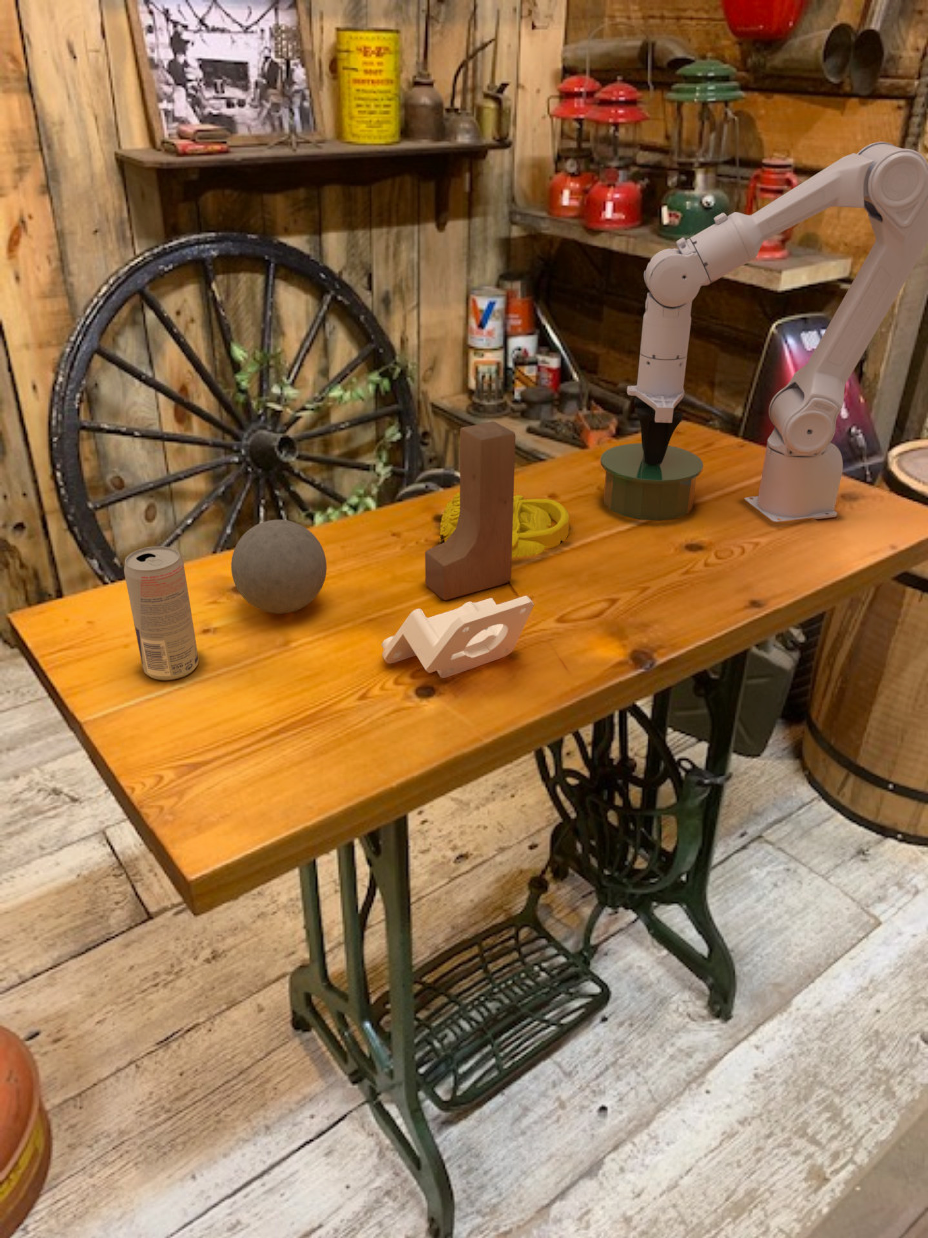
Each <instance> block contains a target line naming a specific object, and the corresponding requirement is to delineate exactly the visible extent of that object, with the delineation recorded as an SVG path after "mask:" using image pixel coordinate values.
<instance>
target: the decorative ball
mask: <svg viewBox="0 0 928 1238" xmlns="http://www.w3.org/2000/svg"><path fill="white" fill-rule="evenodd" d="M230 567H231V569H230V570H231V577H232V581H233V584H234V585H235V587H236V590H237V591H238V593H239V594H240V596H241V597H242V598H243V599H244V600H245V601H246V602H247V603H248V604H250V605H251V606H253V607H254V608H256V609H257V610H260V611H262V612H265V613H268V614H278V615H281V614H283V615H284V614H289V613H293V612H297V611H299V610H301V609H303V608H305V607H307V606H308V605H309V604H310V603H312V602H313V600H314V599H315V598H316V597H317V596H318V595H319V593H320V592H321V590H322V588H323V586H324V584H325V581H326V578H327V558H326V554H325V551H324V548H323V546H322V544H321V543H320V541H319V539H318V538H317V537H316V536H315V535H314V533H313V532H311V531H310V530H309V529H307V528H306V527H305V526H304V525H301V524H299V523H297V522H294V521H291V520H286V519H271V520H270V519H269V520H265V521H263V522H259V523H258V524H255V525H254V526H253V527H251V528H249V529H248V530H247V531H245V533H244V534H242V536H241V537H240V538H239V540H238V541H237V543H236V545H235V547H234V550H233V552H232V556H231V562H230Z"/></svg>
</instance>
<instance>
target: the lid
mask: <svg viewBox="0 0 928 1238" xmlns="http://www.w3.org/2000/svg"><path fill="white" fill-rule="evenodd" d="M599 463H600V466H601V467H602V468H603V470H605V472H606V471H607V472H609V473H611V474H613V475H615V476H617V477H620V478H623V479H626V480H630V481H635V482H641V483H651V484H669V483H678V482H684V481H688V480H691V479H693V478H695V477H696V478H698V477H699V476H700V475H701V474H702V472H703V470H704V462H703V460H702V459H701V458H700V457H699V456H698V455H696V454H695V453H693V452H691V451H689V450H686V449H683V448H681V447H677V446H672V445H669V444H668V447H667V450H666V453H665V456H664V459H663V461H662V463H661V464H650V463H646V462H645V458H644V449H643V448H642V442H637V443H636V442H635V443H626V444H621V445H616V446H613V447H610V448H609V449H607V450H605V451H604V452H602V454H601V456H600V462H599Z"/></svg>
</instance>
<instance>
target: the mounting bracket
mask: <svg viewBox="0 0 928 1238" xmlns="http://www.w3.org/2000/svg"><path fill="white" fill-rule="evenodd" d="M534 606H535V603H534V601H532V599H531V597H529V596H528V595H523V596H520V597H517V598H514V599H511V600H508V601H504V602H500V603H498V604H497V602H495V600H494V598H493V597H489V598H486V599H483V600H480V601H475V602H472V601H467V602H465V603H464V604H463V605H461V606H460V607H457V608H454V609H451V610H448V611H444V612H442V613H439V614H435V615H433V616H429V617H427V616H426V615H425V613H424V611H423V610H422V609H421V608H416V609H414V610H412V611H411V612H410V613H409V615H408V616H407V617H406V619H405V620H404V622H403V623H402V625H401V626H400V627H399V628H398V630H397V631H396V633H395V634H394V635H391V636H389V637H387V638H385V639H384V640H383V641H382V643H381V647H382V649H383V651H382V653H381V657H382V658H383V660H384V661H385V663H386V664H396V663H398V662H401V661H403V660H406V659H411V658H413V657H417V659H418V660H419V662H420V664H421V666H422V667H423V668H424V670H425V671H426V672H427V673H428V674H430V673H433V672H437V674H438V675H439V677H440V678H441V679H446V678H450V677H451V676H454V675H458V674H461V673H463V672H466V671H468V670H471V669H474V668H477V667H480V666H482V665H486V664H488V663H491V662H494V661H497V660H499V659H503V658H505V657H508V655H510V654H511V653H512V652H513V651H514V650H515V648H516V646H517V643H518V641H519V639H520V637H521V634H522V632H523V630H524V628H525V626H526V623H527V621H528V619H529V617H530V615H531V613H532V610H533V608H534Z"/></svg>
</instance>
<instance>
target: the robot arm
mask: <svg viewBox="0 0 928 1238" xmlns="http://www.w3.org/2000/svg"><path fill="white" fill-rule="evenodd" d="M834 207H836V208H838V207H839V208H854V209H855V208H856V209H864V210H865V211H866V213H867V216H868V220H869V222H870V225H871V228H872V232H873V235H874V236H875V241H874V243H873V245H872V247H871V248H870V249H869V252H868V255H866V257H865V259H864V261H863V263H862V265H861V266H860V268H859V270H858V272H857V274H856V275H855V277H854V279H853V281H852V283H851V284H850V286H849V288H848V290H847V292H846V293H845V295H844V297H843V298H842V301H840V303H839V306H838V307H837V309H836V311H835V312H834V315H833V316H832V318H831V320H830V322H829V324H828V326H827V328H826V329H825V331H824V333H823V334H822V337H820V340H819V342H818V344H817V345H816V347H815V349H814V351H813V352H812V355H811V356H810V357H809V360H808V362H807V363H806V364H805V365H804V366H803V367H800V368H799V369H798V370H797V371H795V372H794V374H793V375H792V377H791V379H790V380H789V382H788V383H787V385H785V386H784V387H783V388H781V389H780V390H779V391H778V392H777V393H775V394H774V396H773V397H772V399H771V401H770V403H769V405H768V418H769V420H770V422H771V424H772V425H773V426H774V428H773V430H772V432H771V433H770V435H769V437H767V442H766V447H765V453H764V458H763V459H764V460H763V466H762V471H761V477H760V482H759V488H758V495H755V496H746V497H744V498H743V500H745V502H747V503H749V504H750V505H751V506H752V507H754V508H755V509H756V510H757V511H759V512H760V513H762V514H763V515H764V516H765V517H766V518H768V519H769V520H771V521H772V522H775V523H778V522H779V523H780V522H787V521H796V520H803V519H811V518H813V519H814V520H823V519H829V518H837V516H838V512H837V511H835V509H836V504H837V503H836V502H837V499H838V495H839V491H840V485H841V481H842V475H843V469H844V464H843V457H842V453H841V450H840V449H839V448H838V446H836V444H834V443H832V440H833V439H834V436H835V434H836V426H837V425H836V424H837V419H838V416H839V414H840V412H841V410H842V409H843V406H844V402H845V401H844V399H845V389H846V384H847V382H848V381H849V379H850V378H851V375H852V374H853V372H854V370H855V368H856V367H857V365H858V363H859V362H860V360H861V359H862V357H863V354H864V353H865V351H866V350H867V348H868V346H869V345H870V343H871V341H872V339H873V338H874V336H875V334H876V332H877V331H878V329H879V328H880V326H881V324H882V322H883V320H884V319H885V317H886V316H887V314H888V312H889V311H890V309H891V307H892V305H893V304H894V302H895V300H896V299H897V296H898V295H899V293H900V292H901V291H902V288H903V286H904V285H905V283H906V282H907V279H909V276H910V274H911V272H912V271H913V270H914V268H915V266H916V264H917V263H918V261H919V259H920V257H921V255H922V254H923V253H924V250H925V249H926V247H927V245H928V161H927V159H926V158H925V156H923V155H922V154H921V153H920V152H918V151H917V150H914V149H912V148H911V149H910V148H901V147H900V146H899V147H898V146H896V145H894V144H893V143H891V142H886V141H877V142H873V143H870V144H868V145H866V146H864V147H863V148H861V149H860V150H859V151H858V152H857V153H856V152H853V153H850V154H847V155H846V156H843V157H841V158H840V159H838V160H836V161H835V162H833V163H831V164H830V165H828V166H827V167H825V168H824V169H822V170H820V171H819V172H817V173H816V174H814V175H813V176H811V177H809V178H808V179H806V180H805V181H803V182H801V183H800V184H799V185H797V186H795V187H794V188H791V189H790V190H789V191H787V192H786V193H784V194H782V195H781V196H779V197H777V198H775V200H773V201H771V202H769V203H768V204H766V205H765V206H763V207H761V208H760V209H758V210H757V211H756V212H754V213H752V214H745V213H742V212H737V211H734V212H732V213H730V214H729V215H727V214H726V213H725V212H721V213H720V214H718V215H716V216H715V217H713V220H714V223H713V224H712V225H710V226H708V227H707V228H705V229H703V230H701V231H700V232H697V233H696V234H694V235H692V236H691V237H689V238H687V239H686V238H684V237H681V238H680V239H678V240H676V242H675V244H676V245H677V248H674V247H673V248H670V247H669V248H665V249H662V250H660V251H658V252H657V253H655V254H654V255H653V256H652V257H651V258H650V261H649V262H648V263H647V266H646V269H645V270H644V272H643V279H644V283H645V286H646V288H647V289H648V290H649V292H647V295H646V299H645V306H644V307H645V311H644V314H643V317H642V318H643V319H642V327H641V328H642V329H641V338H640V339H641V340H640V349H639V360H638V372H637V380H636V381H637V382H636V385H628V386H627V387H626V393H627V395H628V396H633V397H634V396H635V397H634V398H633V404H634V405H635V408H636V410H635V411H636V412H635V413H636V416H637V418H638V421H639V424H640V439H641V443H642V448H643V449H644V458H645V462H646V463H650V464H661V463H662V461H663V459H664V456H665V453H666V450H667V447H668V445H669V444H670V441H671V438H672V435H673V434H674V432H675V431H676V429H677V427H678V426H679V425H680V423H681V422H682V420H683V416H684V415H683V413H682V411H676V410H677V409H678V407H679V406H680V402H681V401H682V399H684V397H685V389H684V385H685V376H686V367H687V359H688V351H689V342H690V334H691V333H690V332H691V325H692V316H691V313H692V305H693V301H694V299H695V298H696V297H697V295H698V293H699V292H700V289H701V287H702V286H709V285H710V284H712V283H714V282H716V281H718V280H720V279H721V278H723V277H724V276H726V275H728V274H730V273H731V272H733V271H735V270H737V269H739V268H741V267H742V266H744V265H746V264H748V263H749V262H751V261H753V260H755V259H756V258H757V257H758V255H759V252H760V249H761V247H762V245H763V243H764V242H765V241H767V240H769V239H771V238H772V237H774V236H777V235H778V234H780V233H783V232H784V231H787V230H788V229H790V228H792V227H794V226H796V225H798V224H800V223H802V222H803V221H806V220H807V219H809V218H812V217H814V216H815V215H818V214H820V213H821V212H823V211H825V210H827V209H829V208H834Z"/></svg>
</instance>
